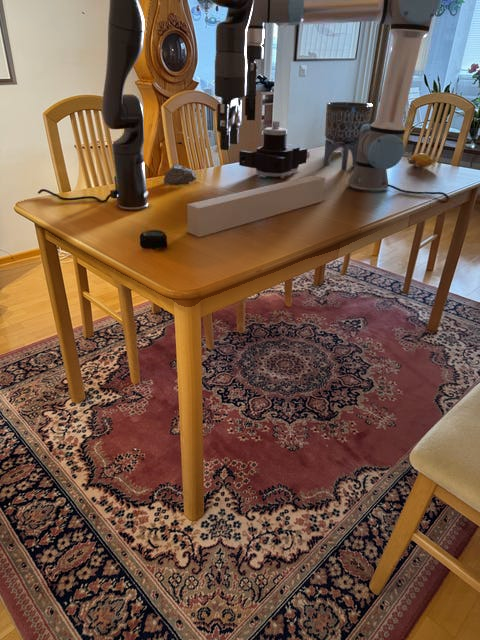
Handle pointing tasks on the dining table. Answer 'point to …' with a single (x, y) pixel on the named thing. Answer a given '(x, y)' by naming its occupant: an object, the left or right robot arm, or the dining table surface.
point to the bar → (253, 205)
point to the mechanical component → (274, 154)
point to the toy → (420, 160)
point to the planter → (344, 129)
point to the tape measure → (153, 239)
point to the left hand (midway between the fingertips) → (229, 146)
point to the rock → (179, 175)
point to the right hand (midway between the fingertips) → (249, 117)
